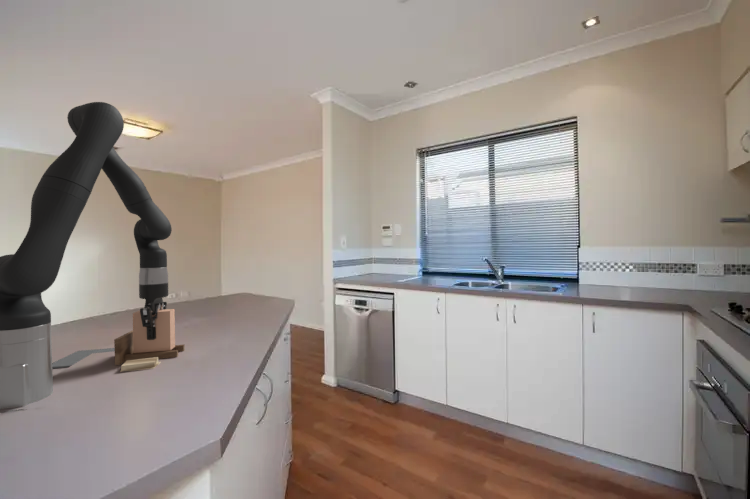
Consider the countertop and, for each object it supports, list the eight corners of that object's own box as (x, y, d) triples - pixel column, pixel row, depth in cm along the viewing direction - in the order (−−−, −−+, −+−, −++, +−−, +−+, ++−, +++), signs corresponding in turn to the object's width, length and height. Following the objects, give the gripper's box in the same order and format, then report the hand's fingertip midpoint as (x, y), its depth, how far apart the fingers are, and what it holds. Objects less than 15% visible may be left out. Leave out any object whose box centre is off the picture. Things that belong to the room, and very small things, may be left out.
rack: (174, 362, 98) (173, 335, 98) (115, 367, 94) (114, 339, 94) (187, 349, 110) (186, 325, 110) (134, 354, 106) (134, 329, 106)
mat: (107, 363, 97) (107, 362, 97) (42, 369, 94) (41, 367, 94) (133, 347, 113) (133, 346, 113) (78, 352, 109) (78, 350, 109)
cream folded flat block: (153, 373, 91) (153, 368, 91) (120, 376, 89) (120, 371, 89) (160, 367, 96) (160, 362, 96) (129, 370, 94) (129, 364, 94)
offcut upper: (154, 367, 92) (154, 361, 92) (121, 371, 89) (121, 365, 89) (158, 362, 96) (158, 356, 96) (126, 365, 93) (126, 360, 93)
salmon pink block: (170, 350, 101) (169, 311, 101) (133, 353, 99) (132, 313, 99) (175, 346, 105) (174, 308, 105) (139, 349, 103) (138, 310, 103)
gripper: (158, 284, 96) (159, 343, 96) (175, 279, 110) (176, 331, 110) (128, 285, 94) (129, 345, 94) (150, 280, 108) (150, 332, 108)
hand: (154, 337), depth 102 cm, fingers closed on salmon pink block, 4 cm apart
